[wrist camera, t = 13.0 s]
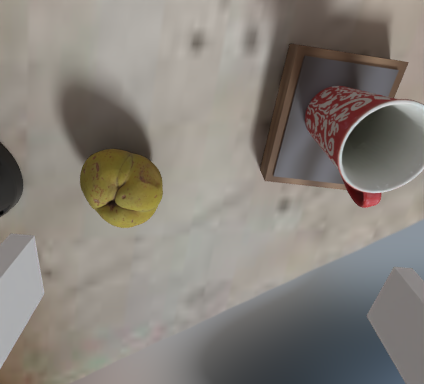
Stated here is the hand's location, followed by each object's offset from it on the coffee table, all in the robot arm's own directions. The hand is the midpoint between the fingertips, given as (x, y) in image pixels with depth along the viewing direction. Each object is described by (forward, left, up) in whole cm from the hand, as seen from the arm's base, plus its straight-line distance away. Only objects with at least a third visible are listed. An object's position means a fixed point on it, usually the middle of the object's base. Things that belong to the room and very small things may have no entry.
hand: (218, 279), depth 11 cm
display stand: (+17, -1, -35) cm, 39 cm away
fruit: (-10, -13, -35) cm, 39 cm away
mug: (+17, -1, -31) cm, 35 cm away
